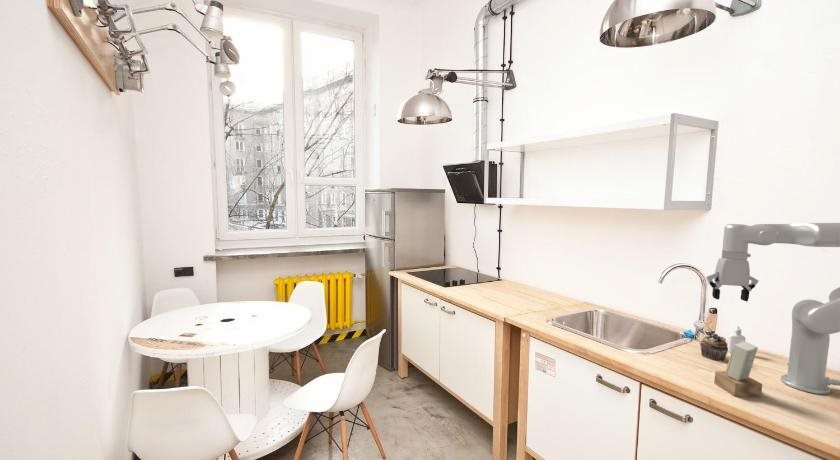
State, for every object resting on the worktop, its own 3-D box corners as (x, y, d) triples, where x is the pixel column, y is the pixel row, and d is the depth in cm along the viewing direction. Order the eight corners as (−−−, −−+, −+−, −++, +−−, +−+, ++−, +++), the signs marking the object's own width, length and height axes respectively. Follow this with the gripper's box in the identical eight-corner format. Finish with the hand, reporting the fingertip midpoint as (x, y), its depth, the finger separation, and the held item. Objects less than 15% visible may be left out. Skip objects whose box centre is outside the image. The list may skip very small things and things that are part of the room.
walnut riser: (739, 385, 138) (740, 372, 137) (760, 398, 129) (762, 384, 128) (714, 384, 138) (715, 371, 137) (734, 397, 129) (735, 383, 128)
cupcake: (733, 361, 158) (735, 338, 157) (713, 362, 156) (716, 339, 155) (711, 352, 167) (714, 330, 167) (693, 353, 166) (695, 330, 165)
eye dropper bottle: (742, 356, 164) (745, 329, 163) (726, 351, 168) (729, 325, 167) (744, 353, 167) (747, 327, 166) (728, 349, 171) (731, 323, 170)
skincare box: (735, 370, 136) (743, 340, 133) (749, 377, 132) (758, 347, 129) (724, 374, 134) (733, 343, 130) (738, 381, 130) (747, 350, 126)
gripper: (753, 255, 148) (748, 298, 149) (703, 253, 151) (699, 295, 153) (766, 258, 141) (762, 303, 142) (714, 256, 144) (710, 300, 145)
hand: (729, 299), depth 147 cm, fingers open, 9 cm apart
